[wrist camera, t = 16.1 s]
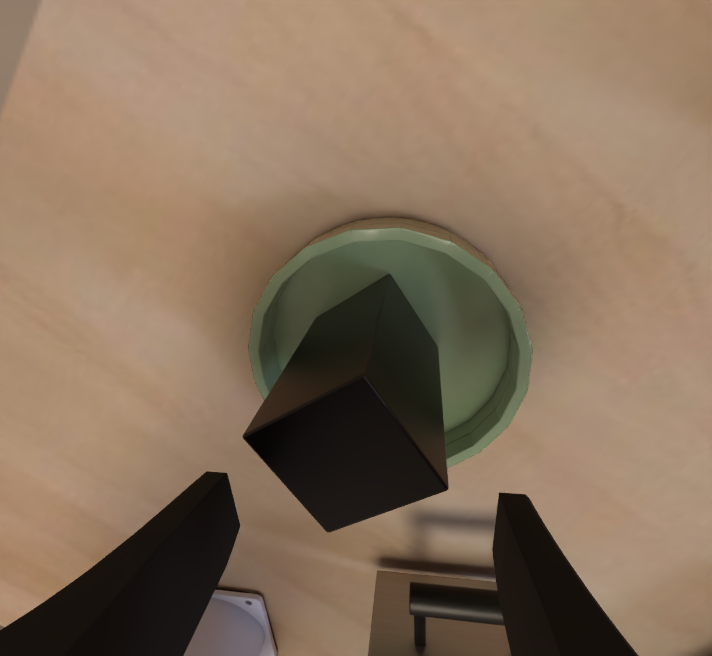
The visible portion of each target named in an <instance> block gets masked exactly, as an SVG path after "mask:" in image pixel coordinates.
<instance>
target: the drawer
mask: <svg viewBox="0 0 712 656" xmlns="http://www.w3.org/2000/svg"><path fill="white" fill-rule="evenodd" d="M368 656H511V652H510V647H509V643H508V638H507V634H506V629H505V625H504V620H503V616H502V611H501V607H500V602H499V597H498V591H497V583H496V582H489V581H478V580H468V579H458V578H448V577H438V576H428V575H417V574H407V573H397V572H387V571H377V577H376V586H375V596H374V605H373V614H372V624H371V633H370V643H369V652H368Z"/></svg>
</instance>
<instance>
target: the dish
mask: <svg viewBox="0 0 712 656" xmlns="http://www.w3.org/2000/svg"><path fill="white" fill-rule="evenodd" d="M388 274H391V275H392V277H393V279H394V280H395V282H396V283H397V285H398V286H399V288H400V289H401V291H402V292H403V294H404V295H405V297H406V298H407V300H408V302H409V303H410V305H411V306H412V308H413V309H414V311H415V312H416V314H417V315H418V317H419V318H420V320H421V321H422V323H423V324H424V326H425V328H426V329H427V331H428V332H429V334H430V335H431V337H432V338H433V340H434V341H435V343H436V344H437V346H438V353H439V366H440V380H441V393H442V407H443V420H444V434H445V448H446V461H447V468H449V467H451V466H453V465H455V464H457V463H459V462H461V461H463V460H465V459H467V458H470V457H472V456H474V455H476V454H478V453H480V451H482V450H483V449H484V448H486V447H487V446H488V445H489V444H490V443H491V442H492V441H493V440H494V439H495V438H496V437H497V436H499V435H500V434H501V433H502V432H503V431H504V430H505V429H506V428H507V427H508V426H509V425H510V423H511V421H512V419H513V417H514V416H515V414H516V412H517V410H518V408H519V406H520V404H521V402H522V401H523V399H524V397H525V395H526V393H527V390H528V384H529V376H530V368H531V360H532V352H533V351H532V345H531V342H530V338H529V334H528V330H527V326H526V323H525V319H524V315H523V311H522V308H521V306H520V305H519V303H518V301H517V300H516V298H515V296H514V295H513V293H512V291H511V290H510V289H509V287H508V286H507V284H506V283H505V282H504V280H503V279H502V278H501V276H500V275H499V273H498V272H497V270H496V269H495V267H494V266H493V265H492V264H491V262H490V261H489V260H488V258H486V256H484V255H483V254H482V253H481V252H479V251H478V250H477V249H476V248H475V247H473V246H472V245H471V244H470V243H468V242H467V241H465V240H464V239H462V238H460V237H459V236H457V235H456V234H454V233H452V232H449V231H447V230H445V229H443V228H441V227H438V226H436V225H432V224H429V223H425V222H422V221H418V220H412V219H405V218H386V217H381V218H373V219H364V220H360V221H356V222H352V223H348V224H345V225H343V226H340V227H338V228H335V229H333V230H330V231H329V232H327V233H325V234H323V235H321V236H318V237H317V238H315V239H314V240H313V241H312V242H310V243H309V244H308V245H307V246H306V247H305V248H304V249H302V250H301V251H300V252H299V253H298V254H297V255H296V256H294V257H293V258H292V259H291V260H290V261H289V262H287V263H286V264H285V265H284V266H283V267H282V268H281V269H279V270H278V271H277V272H276V273H275V274H274V275H273V276H272V278H271V279H270V281H269V283H268V285H267V287H266V289H265V291H264V292H263V294H262V296H261V298H260V300H259V302H258V303H257V305H256V307H255V309H254V312H253V318H252V325H251V332H250V339H249V346H248V348H249V355H250V360H251V365H252V370H253V375H254V380H255V384H256V387H257V389H258V390H259V392H260V394H261V396H262V397H263V399H264V401H265V399H266V397H267V396H268V394H269V392H270V391H271V389H272V388H273V386H274V384H275V383H276V381H277V380H278V378H279V376H280V375H281V373H282V371H283V370H284V368H285V367H286V365H287V363H288V362H289V360H290V359H291V357H292V355H293V354H294V352H295V350H296V349H297V347H298V346H299V344H300V342H301V341H302V339H303V337H304V336H305V334H306V333H307V331H308V329H309V328H310V326H311V325H312V323H313V321H314V320H315V318H316V317H318V316H320V315H321V314H323V313H325V312H326V311H328V310H330V309H331V308H333V307H335V306H336V305H338V304H340V303H341V302H343V301H345V300H346V299H348V298H350V297H351V296H353V295H354V294H356V293H358V292H359V291H361V290H363V289H364V288H366V287H368V286H369V285H371V284H373V283H374V282H376V281H378V280H379V279H381V278H383V277H384V276H386V275H388Z"/></svg>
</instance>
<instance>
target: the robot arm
mask: <svg viewBox="0 0 712 656" xmlns="http://www.w3.org/2000/svg"><path fill="white" fill-rule="evenodd" d="M239 528H240V523H239V519H238V515H237V511H236V507H235V503H234V499H233V495H232V491H231V487H230V483H229V479H228V475H227V473H220V472H206V473H204V474H203V475H202V476H201V477H200V478H198V479H197V480H196V481H195V482H194V483H193V484H191V485H190V486H189V487H188V488H187V489H186V490H185V491H183V492H182V493H181V494H180V495H179V496H178V497H177V498H175V499H174V500H173V501H172V502H171V503H170V504H169V505H167V506H166V507H165V508H164V509H163V510H162V511H160V512H159V513H158V514H157V515H156V516H155V517H153V518H152V519H151V520H150V521H149V522H148V523H146V524H145V525H144V526H143V527H142V528H141V529H139V530H138V531H137V532H136V533H135V534H133V535H132V536H131V537H130V538H128V539H127V540H126V541H125V542H123V543H122V544H121V545H120V546H118V547H117V548H116V549H115V550H113V551H112V552H111V553H110V554H108V555H107V556H106V557H105V558H103V559H102V560H101V561H100V562H98V563H97V564H96V565H95V566H93V567H92V568H91V569H89V570H88V571H87V572H85V573H84V574H83V575H81V576H80V577H79V578H77V579H76V580H74V581H73V582H72V583H70V584H69V585H68V586H66V587H65V588H63V589H62V590H60V591H59V592H58V593H56V594H55V595H53V596H52V597H50V598H49V599H48V600H46V601H45V602H43V603H42V604H40V605H39V606H37V607H36V608H34V609H33V610H32V611H30V612H28V613H27V614H25V615H24V616H22V617H21V618H19V619H17V620H16V621H14V622H13V623H11V624H10V625H8V626H6V627H5V628H3V629H2V630H0V656H277V651H276V647H275V643H274V639H273V635H272V632H271V628H270V624H269V620H268V616H267V613H266V609H265V605H264V601H263V598H262V597H261V596H260V595H258V594H251V593H242V592H233V591H224V590H216V587H217V585H218V583H219V580H220V578H221V576H222V574H223V572H224V570H225V567H226V565H227V563H228V560H229V557H230V554H231V552H232V549H233V546H234V543H235V540H236V537H237V534H238V531H239ZM492 550H493V559H494V567H495V575H496V583H497V591H498V597H499V602H500V607H501V611H502V616H503V620H504V625H505V629H506V634H507V638H508V643H509V647H510V652H511V656H638V655H637V653H636V652H635V651H634V650H633V648H632V647H631V646H630V645H629V643H628V642H627V641H626V640H625V638H624V637H623V636H622V634H621V633H620V632H619V631H618V629H617V628H616V627H615V625H614V624H613V623H612V621H611V620H610V619H609V617H608V616H607V615H606V613H605V612H604V611H603V609H602V608H601V607H600V605H599V604H598V603H597V601H596V600H595V599H594V597H593V596H592V594H591V593H590V592H589V590H588V589H587V587H586V586H585V585H584V583H583V582H582V580H581V579H580V577H579V576H578V575H577V573H576V572H575V570H574V569H573V567H572V566H571V564H570V563H569V562H568V560H567V559H566V557H565V556H564V554H563V553H562V551H561V550H560V548H559V546H558V545H557V543H556V542H555V540H554V539H553V537H552V536H551V534H550V532H549V531H548V529H547V528H546V526H545V524H544V523H543V521H542V519H541V518H540V516H539V514H538V513H537V511H536V509H535V508H534V506H533V504H532V502H531V501H530V499H529V498H528V497H527V496H526V495H525V494H512V493H499V499H498V507H497V515H496V524H495V532H494V540H493V549H492Z"/></svg>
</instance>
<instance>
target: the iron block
mask: <svg viewBox="0 0 712 656" xmlns="http://www.w3.org/2000/svg"><path fill="white" fill-rule="evenodd" d="M243 439H244V440H245V441H246V442H247V443H248V444H249V445H250V446H251V448H252V449H253V450H254V451H255V452H256V453H257V454H258V455H259V457H260V458H261V459H262V460H263V461H264V462H265V463H266V464H267V466H268V467H269V468H270V469H271V470H272V471H273V472H274V473H275V474H276V476H277V477H278V478H279V479H280V480H281V481H282V482H283V483H284V485H285V486H286V487H287V488H288V489H289V490H290V491H291V492H292V494H293V495H294V496H295V497H296V498H297V499H298V500H299V501H300V503H301V504H302V505H303V506H304V507H305V508H306V509H307V510H308V511H309V513H310V514H311V515H312V516H313V517H314V518H315V519H316V520H317V522H318V523H319V524H320V525H321V526H322V527H323V528H324V529H325V531H326V532H332V531H335V530H337V529H340V528H343V527H346V526H349V525H351V524H354V523H357V522H360V521H363V520H365V519H368V518H371V517H374V516H377V515H380V514H382V513H385V512H388V511H391V510H394V509H396V508H399V507H402V506H405V505H408V504H410V503H413V502H416V501H419V500H422V499H424V498H427V497H430V496H433V495H436V494H438V493H441V492H444V491H447V490H448V475H447V461H446V448H445V434H444V420H443V407H442V393H441V380H440V366H439V353H438V346H437V344H436V343H435V341H434V340H433V338H432V337H431V335H430V334H429V332H428V331H427V329H426V328H425V326H424V324H423V323H422V321H421V320H420V318H419V317H418V315H417V314H416V312H415V311H414V309H413V308H412V306H411V305H410V303H409V302H408V300H407V298H406V297H405V295H404V294H403V292H402V291H401V289H400V288H399V286H398V285H397V283H396V282H395V280H394V279H393V277H392V275H391V274H388V275H386V276H384V277H383V278H381V279H379V280H378V281H376V282H374V283H373V284H371V285H369V286H368V287H366V288H364V289H363V290H361V291H359V292H358V293H356V294H354V295H353V296H351V297H350V298H348V299H346V300H345V301H343V302H341V303H340V304H338V305H336V306H335V307H333V308H331V309H330V310H328V311H326V312H325V313H323V314H321V315H320V316H318V317H316V318H315V320H314V321H313V323H312V325H311V326H310V328H309V329H308V331H307V333H306V334H305V336H304V337H303V339H302V341H301V342H300V344H299V346H298V347H297V349H296V350H295V352H294V354H293V355H292V357H291V359H290V360H289V362H288V363H287V365H286V367H285V368H284V370H283V371H282V373H281V375H280V376H279V378H278V380H277V381H276V383H275V384H274V386H273V388H272V389H271V391H270V392H269V394H268V396H267V397H266V399H265V401H264V402H263V404H262V405H261V407H260V409H259V410H258V412H257V414H256V415H255V417H254V418H253V420H252V422H251V423H250V425H249V426H248V428H247V430H246V431H245V433H244V435H243Z"/></svg>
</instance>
